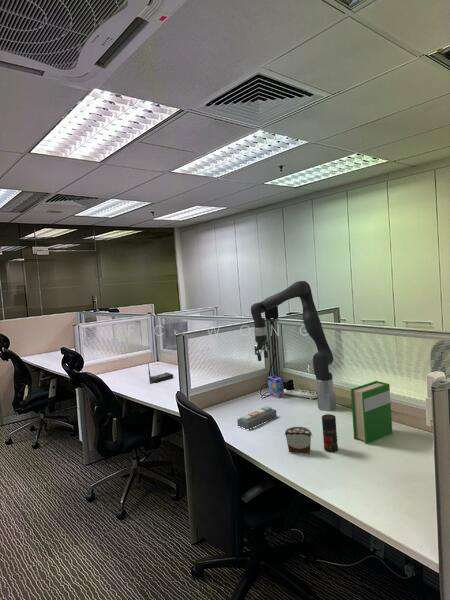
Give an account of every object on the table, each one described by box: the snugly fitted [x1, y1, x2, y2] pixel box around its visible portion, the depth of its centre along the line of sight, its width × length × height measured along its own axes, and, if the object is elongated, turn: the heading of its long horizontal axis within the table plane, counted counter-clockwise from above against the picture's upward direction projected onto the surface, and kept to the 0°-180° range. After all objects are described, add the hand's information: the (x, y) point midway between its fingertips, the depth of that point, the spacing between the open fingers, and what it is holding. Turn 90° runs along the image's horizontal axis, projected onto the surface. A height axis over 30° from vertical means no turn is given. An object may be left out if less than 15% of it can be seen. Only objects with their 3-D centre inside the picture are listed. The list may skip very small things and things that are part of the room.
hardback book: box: [350, 380, 393, 445], centre depth 181 cm, size 18×7×24 cm, turn 119°
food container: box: [283, 426, 313, 455], centre depth 174 cm, size 12×6×10 cm, turn 71°
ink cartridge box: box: [267, 373, 285, 399], centre depth 251 cm, size 10×6×14 cm, turn 29°
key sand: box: [254, 408, 265, 416], centre depth 213 cm, size 4×4×3 cm
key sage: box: [240, 414, 252, 422], centre depth 206 cm, size 4×4×3 cm
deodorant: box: [321, 413, 339, 453], centre depth 172 cm, size 6×6×15 cm
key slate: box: [260, 405, 273, 413], centre depth 216 cm, size 4×4×3 cm
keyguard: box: [236, 408, 278, 430], centre depth 211 cm, size 8×22×4 cm, turn 131°
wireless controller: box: [147, 363, 174, 385], centre depth 314 cm, size 20×14×17 cm
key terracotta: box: [247, 411, 259, 419], centre depth 210 cm, size 4×4×3 cm
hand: (263, 359), depth 245 cm, fingers open, 8 cm apart
